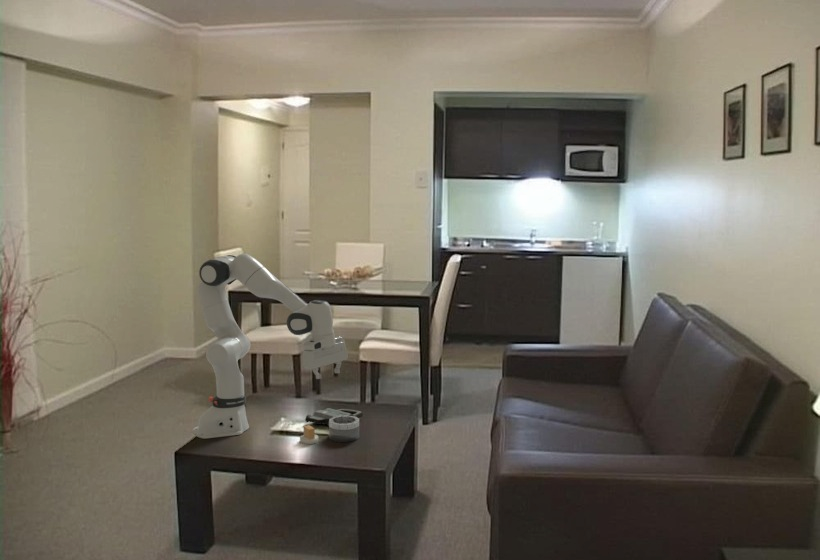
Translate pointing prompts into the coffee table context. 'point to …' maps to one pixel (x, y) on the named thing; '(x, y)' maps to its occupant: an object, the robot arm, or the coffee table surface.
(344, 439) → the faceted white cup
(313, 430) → the block on round base
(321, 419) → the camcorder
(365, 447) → the coffee table surface
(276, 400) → the coffee table surface
